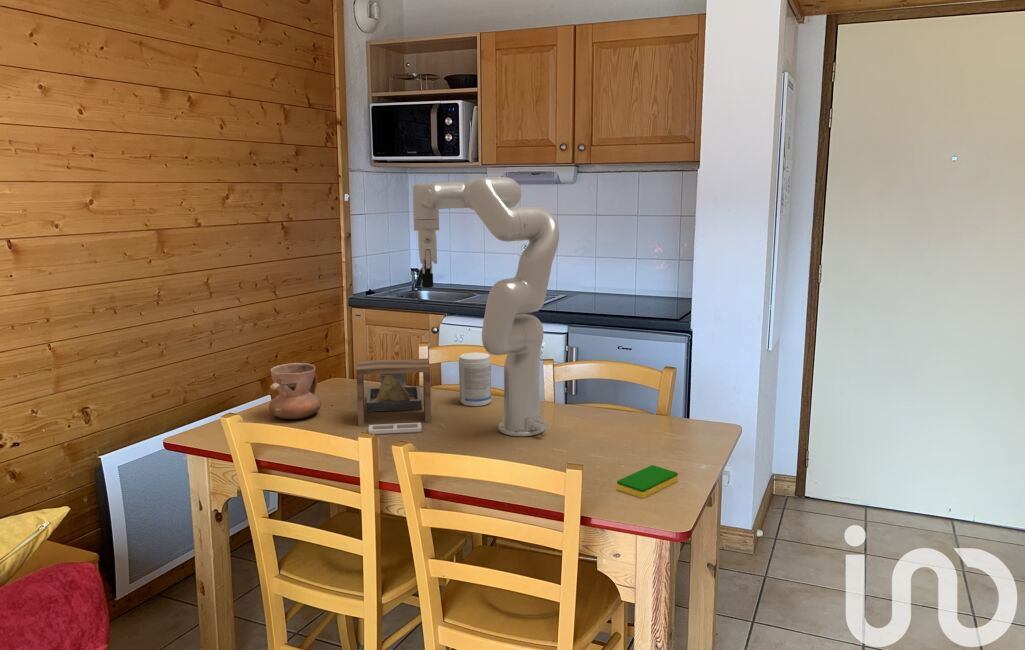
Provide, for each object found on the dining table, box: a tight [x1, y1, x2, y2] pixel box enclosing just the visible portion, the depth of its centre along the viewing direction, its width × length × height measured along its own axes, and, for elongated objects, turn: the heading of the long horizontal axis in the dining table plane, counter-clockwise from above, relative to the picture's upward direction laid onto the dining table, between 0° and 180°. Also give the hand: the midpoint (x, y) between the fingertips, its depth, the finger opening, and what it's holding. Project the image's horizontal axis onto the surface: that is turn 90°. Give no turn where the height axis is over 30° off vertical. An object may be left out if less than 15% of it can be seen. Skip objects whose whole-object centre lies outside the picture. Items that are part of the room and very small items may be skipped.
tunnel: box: [355, 357, 432, 427], centre depth 220 cm, size 10×20×16 cm, turn 99°
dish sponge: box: [616, 464, 679, 499], centre depth 174 cm, size 7×14×2 cm, turn 135°
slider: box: [365, 373, 423, 413], centre depth 239 cm, size 25×16×9 cm, turn 9°
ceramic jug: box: [268, 362, 322, 420], centre depth 223 cm, size 18×14×14 cm
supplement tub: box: [458, 352, 492, 407], centre depth 236 cm, size 10×10×15 cm
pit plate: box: [368, 422, 423, 436], centre depth 211 cm, size 5×14×1 cm, turn 99°
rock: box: [375, 375, 413, 401], centre depth 230 cm, size 11×9×10 cm
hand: (427, 286), depth 233 cm, fingers closed
